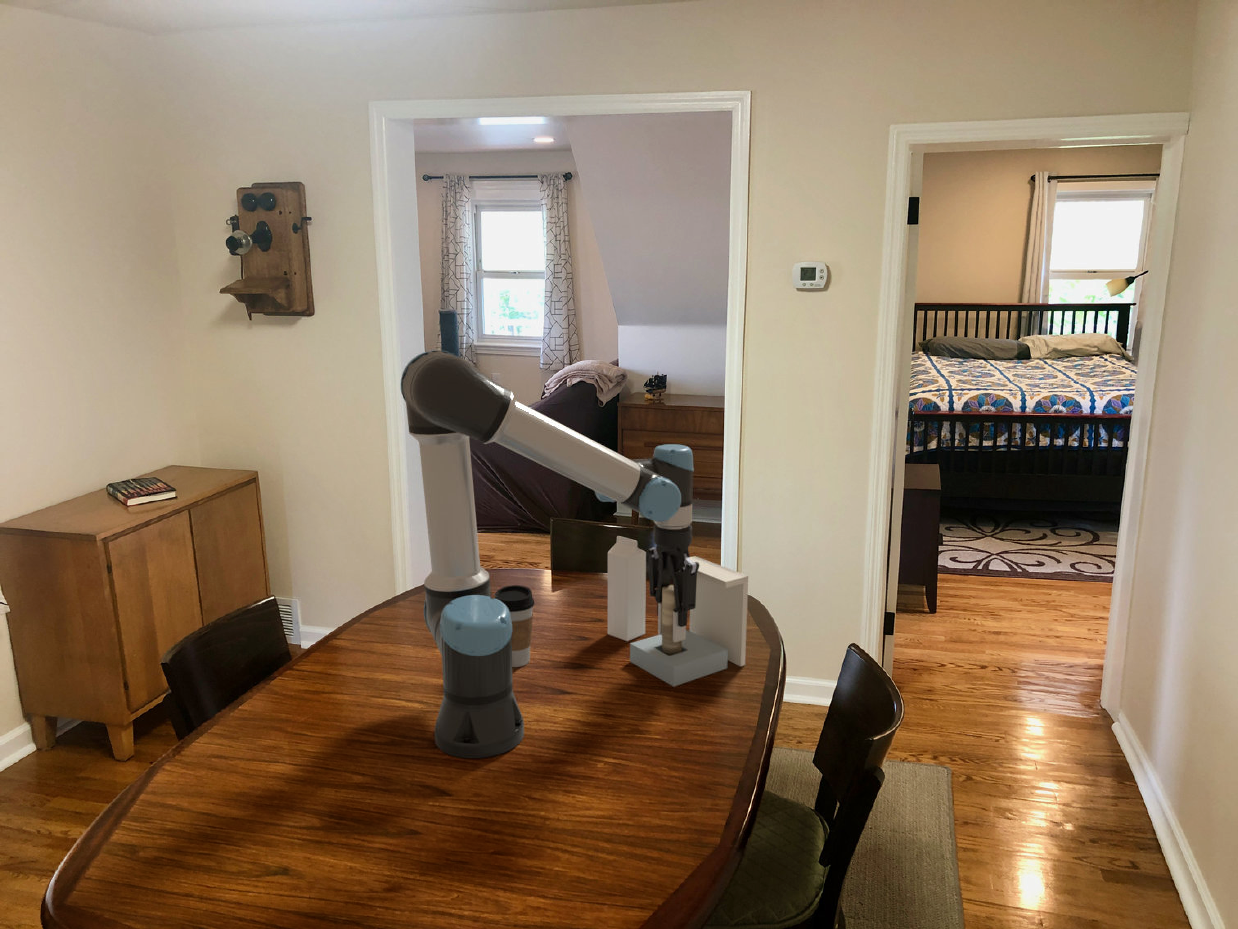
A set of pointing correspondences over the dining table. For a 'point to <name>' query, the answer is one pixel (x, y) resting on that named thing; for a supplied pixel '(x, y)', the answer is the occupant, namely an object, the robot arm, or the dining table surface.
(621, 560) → the milk
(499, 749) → the robot arm
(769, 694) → the dining table surface
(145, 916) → the dining table surface
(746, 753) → the dining table surface
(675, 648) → the birch peg
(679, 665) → the socket block
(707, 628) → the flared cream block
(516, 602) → the coffee cup
